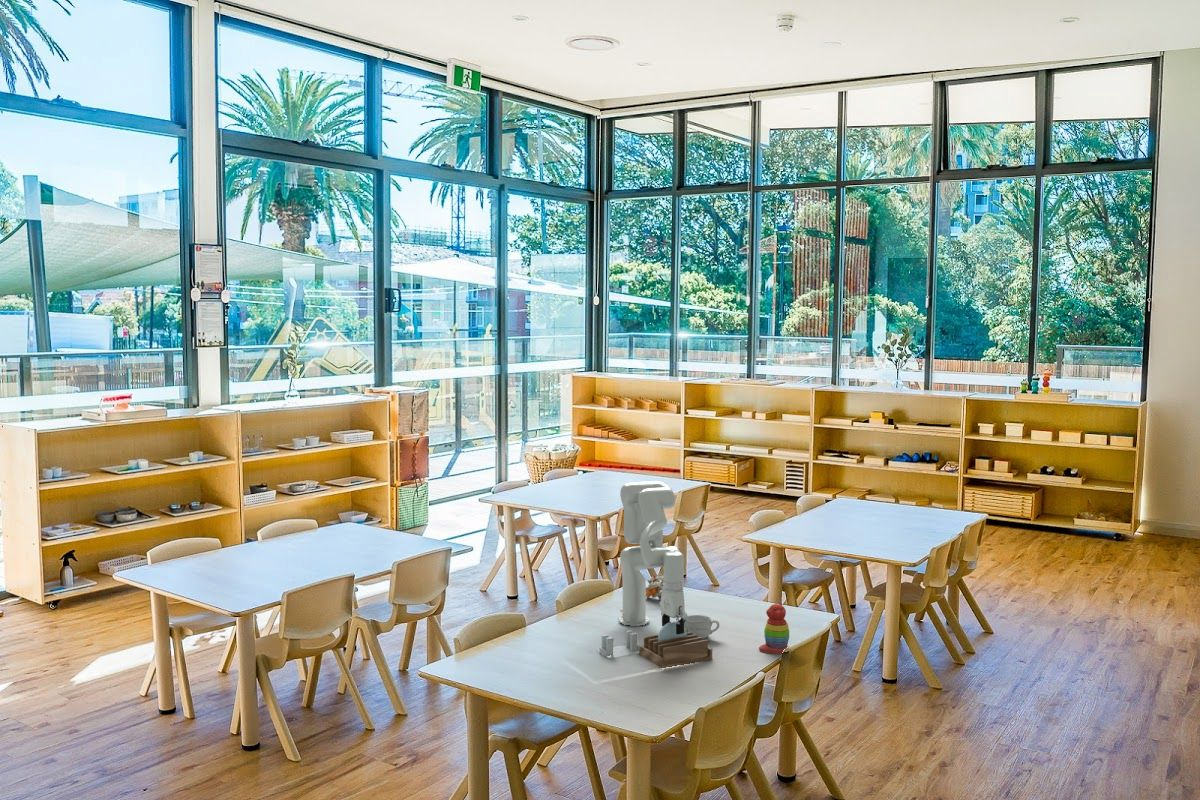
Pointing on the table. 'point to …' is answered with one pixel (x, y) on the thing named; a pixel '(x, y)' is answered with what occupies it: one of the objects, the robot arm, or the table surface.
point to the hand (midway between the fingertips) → (672, 629)
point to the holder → (623, 650)
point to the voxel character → (654, 586)
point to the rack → (676, 650)
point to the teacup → (700, 625)
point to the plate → (670, 632)
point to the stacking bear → (775, 630)
